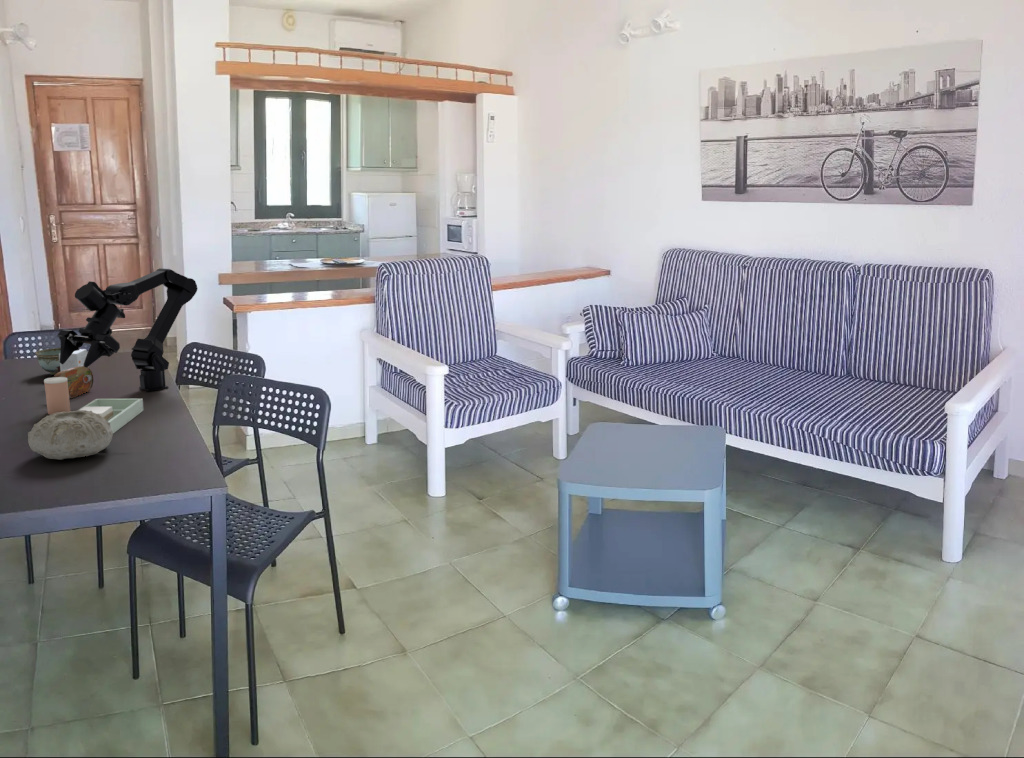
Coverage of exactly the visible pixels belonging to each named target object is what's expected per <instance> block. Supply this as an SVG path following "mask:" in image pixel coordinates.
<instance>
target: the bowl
mask: <svg viewBox="0 0 1024 758" xmlns="http://www.w3.org/2000/svg"><path fill="white" fill-rule="evenodd" d="M60 351H61V347H53V348H46V349H41V350H38V351H36V352H35V353H34V354H35V355H36V358H37V362H38V364H39V366H40V367H41V369H43V370H44V371H46V372H47V373H49V374H51V375H56V374H57V373H58V372H61V370H60V362H59V354H60ZM51 375H50V376H51Z"/></svg>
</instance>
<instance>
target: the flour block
mask: <svg viewBox="0 0 1024 758" xmlns="http://www.w3.org/2000/svg"><path fill="white" fill-rule="evenodd" d="M82 407H83V408H82ZM82 407H81V408H82V409H81V408H79V409H80V410H87V411H92V412H93V413H96V414H99V415H100V416H102V417H103V418H104V419H106V420H107V421H109V420H110V419H112V418H113V410H112V407H84V406H82Z"/></svg>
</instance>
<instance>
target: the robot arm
mask: <svg viewBox="0 0 1024 758" xmlns="http://www.w3.org/2000/svg"><path fill="white" fill-rule="evenodd" d="M160 286H163V287H165V288H166V297H167V298H166V300H165V302H164V304H163V306H162V308H161V310H160V312H159V314H158V316H157V318H156V320H155V321H154V323H153V325H152V327H151V329H150V331H149V333H148V335H147V336H146V337H144V338H137V339H136V341H135V343H134V346H133V347H131V350H132V351H131V355H130V357H131V360H132V362H133V363H134V366H135V368H136V370H140V374H139V387H138V388H139V389H140V390H144V391H147V392H153V391H158V390H163V389H168V388H169V386H168V385H166V375H165V371H166V370H168V369H169V364H170V362H169V361H168V360H167V359H166V358H164V356H163V355H164V343H165V340H166V338H167V336H168V334H169V333H170V330H171V329H172V327H173V325H174V322H175V321H176V319H177V317H178V315H179V313H180V312H181V309H182V308H183V306H185V305H186V304H187V303H188V302H190V301H191V300H192V299H193V298H194V296H195V295H196V294H197V291H198V285H197V282H196V280H195V279H193V278H190V277H187V276H185V275H182V274H180V273H178V272H176V271H174V270H172V269H170V268H162V267H161V268H158V269H156V270H155V271H153V272H150V273H147V274H146V275H143V276H141V277H139V278H136V279H134V280H132V281H128V282H121V283H120V282H119V283H115V284H110V285H108V286H107V287H106V288H105V289H102V288H101V287H99V285H98V283H96V282H95V281H91V280H90V281H88V282H87V283H86V284H84V285H82V286H81V287H79V288H78V289H76V290H75V293H74V297H75V299H76V300H77V301H79V302H80V304H81V305H83V306H84V308H86V309H87V310H88V311H89V312H94V313H93V315H91V317H87V318H86V319H85V321H86V322H87V323H86V325H85V326H84V328H79V329H78V331H77V332H78V333H79V334H80V335H79V334H78V333H77V332H76V331H74V330H72V329H60V331H59V332H58V333H57V336H56V337H58V340H59V341H60V348H61V351H60V363H61V364H64V363H65V362H66V361H67V359H68V358H69V357H70V356H71V354H72V353H73V352H74V351H78V350H80V349H81V347H82V346H83V345H84V344H86V345H87V344H88V345H89V349H88V352H87V356H86V359H85V361H84V367H86V368H87V367H88V368H89V367H90V366H91V365H92V364H94V363H95V362H96V361H97V360H99V359H100V358H102V357H108V358H110V357H111V356H113V355H114V354H117V353H118V351H119V350H120V349H121V347H120V342H119V341H117V339H115V338H114V337H113V335H112V333H113V329H111V328H112V327H113V325H114V323H115V321H116V320H117V318H119V319H125V318H126V313H125V312H124V311H125V310H124V308H119V306H130V305H131V304H133V303H134V302H136V301H137V300H138V299H139V296H140V295H142V294H144V293H147V292H149V291H150V290H153V289H155V288H158V287H160Z"/></svg>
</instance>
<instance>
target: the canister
mask: <svg viewBox="0 0 1024 758" xmlns="http://www.w3.org/2000/svg"><path fill="white" fill-rule="evenodd" d="M67 381H68V380H67V378H66V377H54V376H52V377H47V378H45V379H44V380H43V383H44V390H45V398H46V399H45V400H46V401H45V402H46V408H47V409H46V410H47V414H48V416H49V415H52V414H53V413H54V414H55V413H58V412H64V411H65V412H71V410H72V409H71V404H70V402H71V401H70V399H69V391H68V382H67Z"/></svg>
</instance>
